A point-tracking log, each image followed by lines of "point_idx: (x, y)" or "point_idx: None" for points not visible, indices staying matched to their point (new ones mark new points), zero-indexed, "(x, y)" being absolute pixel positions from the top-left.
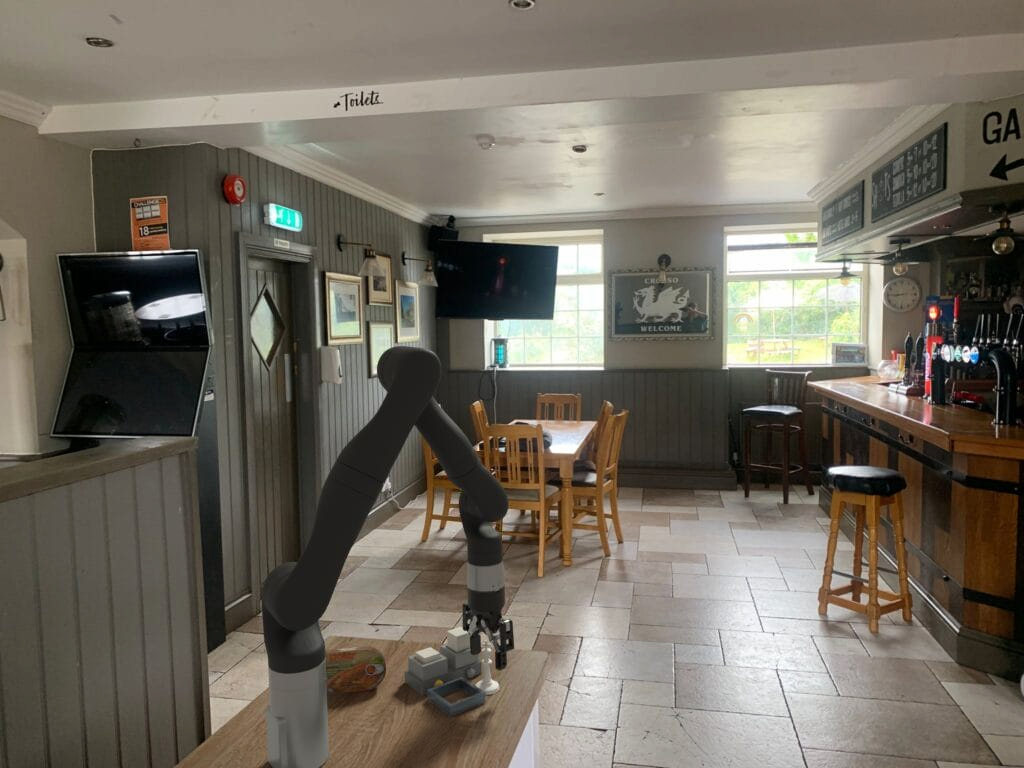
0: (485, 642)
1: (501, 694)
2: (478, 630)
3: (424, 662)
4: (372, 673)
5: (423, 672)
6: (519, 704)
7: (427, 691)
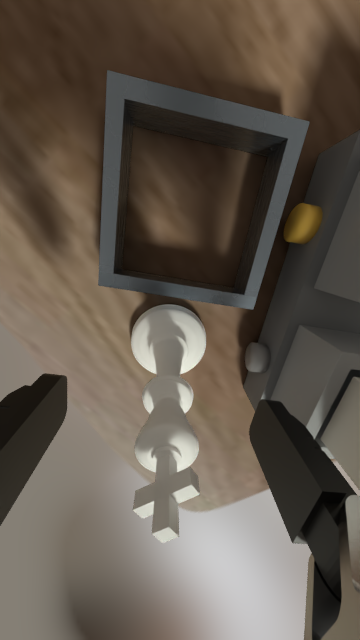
0: (167, 512)
1: (113, 343)
2: (332, 596)
3: None
4: None
5: None
6: (30, 337)
7: (301, 124)
